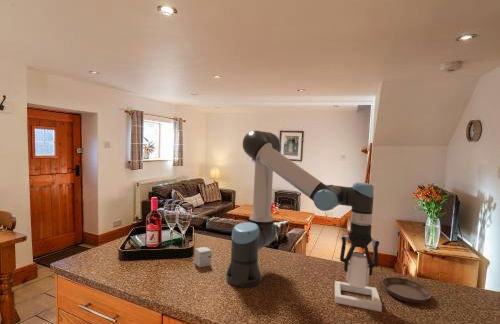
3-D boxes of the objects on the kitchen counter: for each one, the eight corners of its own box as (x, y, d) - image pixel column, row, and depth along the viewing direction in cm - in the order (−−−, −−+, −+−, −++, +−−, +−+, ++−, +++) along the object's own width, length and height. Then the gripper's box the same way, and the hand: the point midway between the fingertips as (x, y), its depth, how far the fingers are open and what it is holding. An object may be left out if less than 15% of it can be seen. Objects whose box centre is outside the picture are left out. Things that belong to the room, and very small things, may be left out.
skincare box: (199, 267, 127) (199, 252, 126) (194, 262, 132) (194, 248, 132) (211, 265, 130) (211, 250, 130) (205, 260, 135) (206, 246, 135)
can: (367, 290, 102) (369, 258, 102) (349, 287, 104) (351, 256, 103) (363, 282, 109) (365, 252, 108) (347, 279, 110) (348, 250, 109)
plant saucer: (435, 295, 112) (435, 288, 112) (425, 312, 99) (425, 304, 99) (389, 279, 124) (389, 273, 124) (375, 292, 112) (375, 285, 111)
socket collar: (335, 302, 102) (335, 296, 102) (334, 286, 115) (334, 280, 115) (381, 311, 98) (381, 304, 98) (375, 293, 110) (376, 287, 110)
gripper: (335, 222, 104) (331, 281, 105) (390, 228, 99) (386, 290, 100) (334, 217, 111) (331, 272, 112) (386, 223, 106) (382, 281, 107)
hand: (357, 281), depth 106 cm, fingers closed on can, 6 cm apart
